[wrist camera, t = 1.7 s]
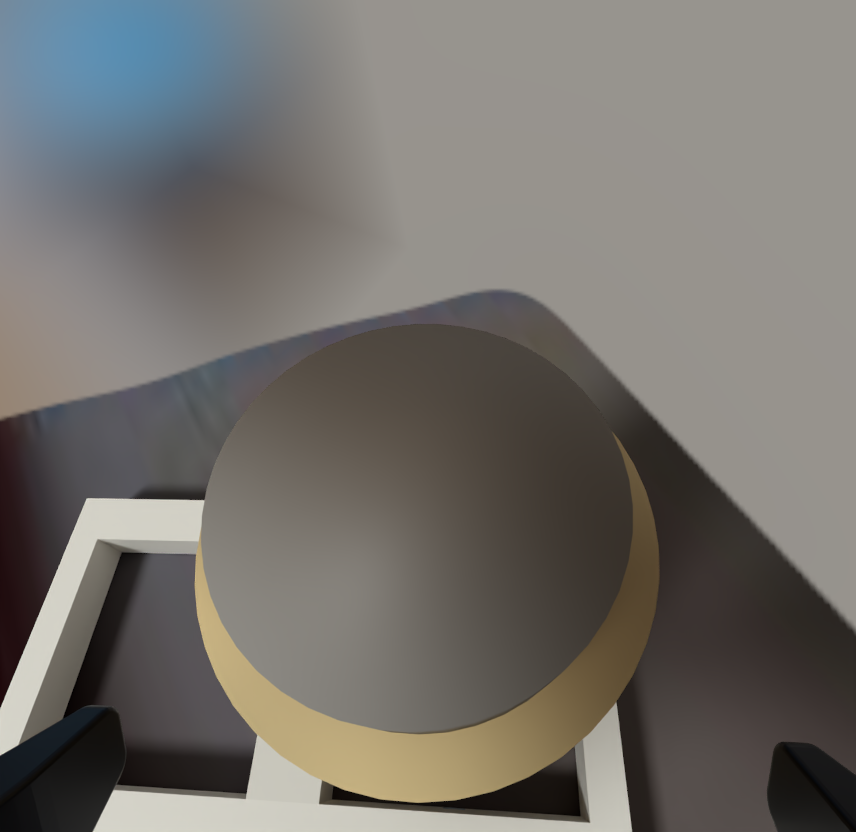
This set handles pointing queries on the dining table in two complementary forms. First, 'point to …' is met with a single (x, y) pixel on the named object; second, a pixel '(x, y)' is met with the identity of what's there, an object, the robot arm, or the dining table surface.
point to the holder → (270, 773)
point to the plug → (424, 564)
